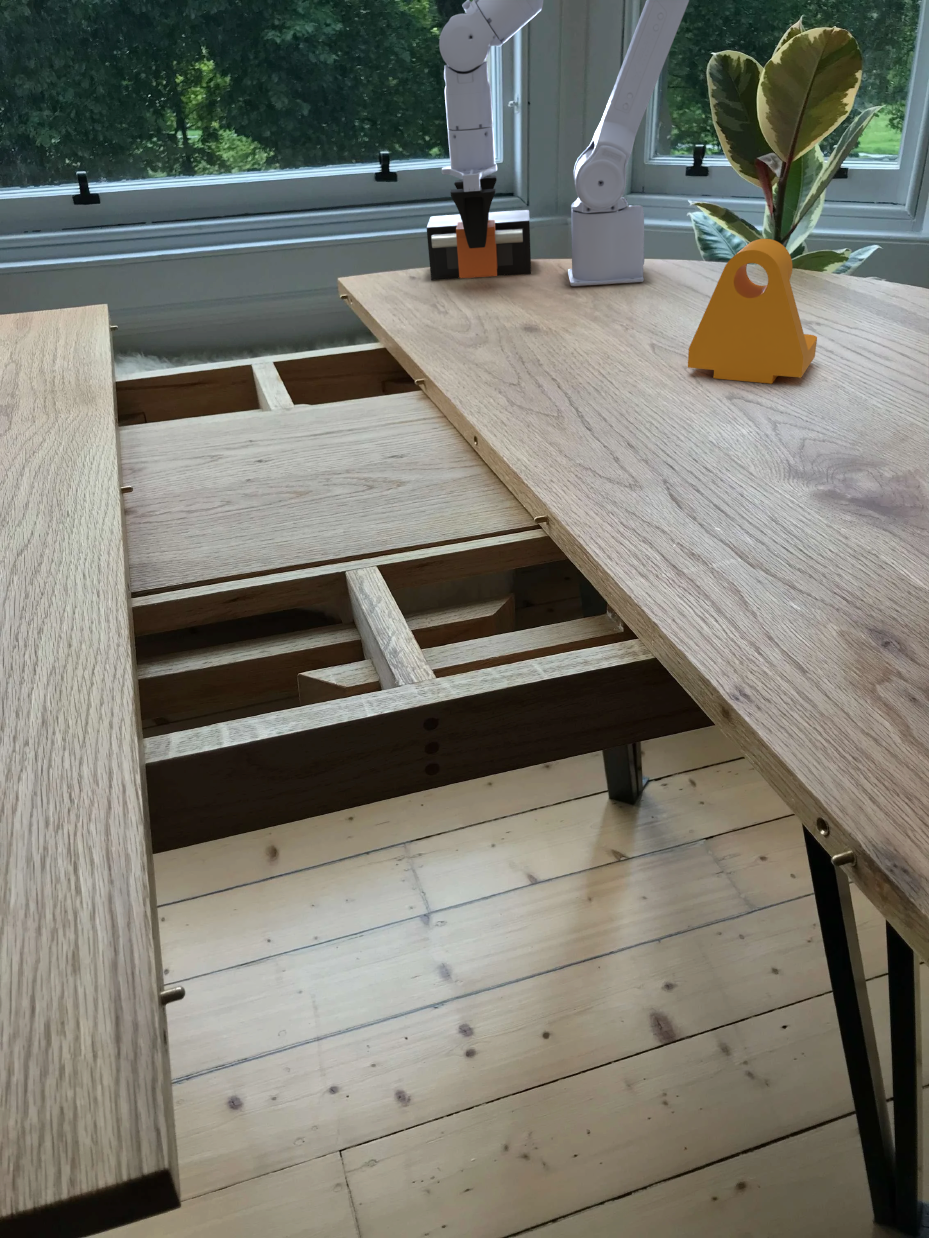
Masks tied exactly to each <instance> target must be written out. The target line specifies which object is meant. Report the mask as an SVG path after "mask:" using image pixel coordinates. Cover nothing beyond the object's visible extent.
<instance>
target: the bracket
mask: <svg viewBox="0 0 929 1238" xmlns="http://www.w3.org/2000/svg"><path fill="white" fill-rule="evenodd" d="M748 264H756V265H758V266H760V267H762V268H763V270H764V271H765V273H766V275H767V284H765V285H759V284H756V283H755V282H753V281H752V280H751V279H750V277H749V275H748V273H747V267H748ZM792 274H793V260H792V256H791V254H790V252H789V250H788V249H787V247H785V246H784V245H783V244H782V243H781V242H779V241H777V240H775V239H770V238H759V239H755V240H753V241H750V242H748V243H747V244H746V245H745V246H743V247H742V248H741V249H740V250H739V251H737V252H736V253H735V254H734V256H732V257H731V258H730V259H729V260H728V262H727V263H726V264H725V266H724V268H723V270H722V272H721V274H720V275H719V276H720V277H719V279H718V281H717V284H716V286H715V288H714V290H713V292H712V295H711V297H710V299H709V302H708V304H707V306H706V309H705V310H704V313H703V315H702V318H701V320H700V322H699V324H698V327H697V329H696V331H695V334H694V336H693V338H692V340H691V343H690V345H689V347H688V355H687V368H688V369H699V370H710V371H713V376H712V377H713V379H718V380H727V381H739V382H748V383H749V382H751V383H761V384H770V385H772V384H773V383H774V382H775V380H776V379H777V377H790V378H792V377H793V378H803V376H804V374H805V373H806V371H807V369H808V368H809V366H811V363H812V362H813V361H814V359H815V358H816V351H817V350H816V349H817V343H818V336H817V335H814V334H809V333H804V329H803V326H802V321H801V318H800V314H799V310H798V306H797V303H796V300H795V295H794V292H793V288H792V285H791V281H790V280H791V277H792Z"/></svg>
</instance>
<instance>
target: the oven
mask: <svg viewBox="0 0 929 1238" xmlns="http://www.w3.org/2000/svg"><path fill="white" fill-rule="evenodd" d="M489 220H495V244H496V249H497V276H496V277H503V276H506V277H507V276H519V275H532V257H531V256H532V255H531V226H530V225H531V224H530V210H529V209H522V210H521V209H520V210H506V211H504V210H503V211H492V212H490V211H489ZM458 222H462V219H461V216H460V214H449V215H447V214H445V215H433V216H430V217H429V220H428V223H427V226H426V239H427V249H428V250H427V251H428V260H429V270H430V272H429V273H430V280H431V281H440V280H441V281H443V280H455V279H457V280H458V279H459V280H460V279H461V278H459V264H458V251H457V237H456V227H457V223H458ZM489 277H490V278H491V277H492V276H487V277H486V278H489ZM473 278H475V279H476V277H472V278H471V279H473Z"/></svg>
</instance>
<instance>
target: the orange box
mask: <svg viewBox="0 0 929 1238" xmlns="http://www.w3.org/2000/svg"><path fill="white" fill-rule="evenodd" d="M456 237H457V251H458V264H459V278H460V279H473V278H472V277H475V278H488V277H487V276H491V277H498V276H497V249H496V244H495V220H488V227H487V239H486V245H485V247H483V248H469V246H468V243H467V240H466V236H465V231H464V227H463V223H462V222H458V223H457V227H456Z"/></svg>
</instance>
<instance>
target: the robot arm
mask: <svg viewBox="0 0 929 1238" xmlns="http://www.w3.org/2000/svg"><path fill="white" fill-rule="evenodd" d="M689 2H690V0H646V1H645V3H644V6H643V8H642V11H641V13H640V16H639V18H638V22H637V25H636V27H635V30H634V32H633V35H632V37H631V39H630V43H629V45H628V48H627V50H626V51H627V52H626V53H625V55H624V59H623V61H622V63H621V66H620V69H619V71H618V74H617V77H616V80H615V83H614V85H613V88H612V90H611V93H610V96H609V98H608V101H607V103H606V106H605V109H604V112H603V114H602V117H601V120H600V122H599V123H598V126H597V128H596V130H595V131H594V134H593V137H592V140H591V141H590V143H589V145H588V146H587V147H586V149H585V150H583V151H582V153H581V154H580V155H579V156H578V157H577V159H576V161H575V164H574V167H573V180H574V188H575V194H576V195H577V198H576V200H575V201H574V202H572V203H571V205H570V209H571V210H570V217H571V218H570V221H571V223H570V224H571V226H570V227H571V228H570V229H571V268H567V275H568V281H569V285H570V286H571V287H580V286H582V287H583V286H598V285H599V286H600V285H611V284H613V285H614V284H631V283H643V282H644V265H645V215H644V213H645V212H644V207H643V205H629V203H628V199H627V198H625V197H623V196H624V194H625V192H626V187H627V166H628V163H629V160H630V158H631V156H632V152H633V149H634V143H635V139H636V136H637V133H638V131H639V128H640V125H641V124H642V123H641V122H642V120H643V118H644V115H645V113H646V110H647V107H648V105H649V102H650V100H651V99H652V95H653V92H654V90H655V87H656V85H657V82H658V81H659V77H660V75H661V73H662V70H663V67H664V65H665V63H666V60H667V58H668V54H669V52H670V50H671V47H672V45H673V42H674V39H675V37H676V35H677V32H678V29H679V27H680V24H681V23H682V20H683V17H684V15H685V13H686V9H687V7H688V5H689ZM543 5H544V0H466V1H464V2H463V3H462V4H461V6H462V8H463V10H464V12H465V13H458V14H455V15H453V16H451V17H450V18H449V20H448V21H447V22H446V24H445V25H444V26H443V28H442V30H441V32H440V35H439V42H438V46H439V52H440V55H441V58H442V60H443V61H444V63H445V65H444V70H443V79H444V82H445V87H444V100H445V101H444V102H445V113H446V125H447V139H448V148H449V149H448V150H449V152H448V153H449V163H450V166H444V167H442V168H441V175H442V176H448V175H450V176H452V177H453V178H456V179H458V180H455V181H453V185H454V186H455V188H456V189H455V188H454V189H451V190H450V198H451V200H452V201H453V203H454V204H455V206H456V209H457V211H458V213H459V214H458V215H460V216H461V219H462V223H463V227H464V231H465V236H466V240H467V243H468V246H469V248H483V247H485V245H486V239H487V227H488V220H489V213H490V211H491V210H490V209H491V206H492V203H493V200H494V197H495V194H496V191H497V189H496V188H495V186H496V183H497V181H498V178H497V177H498V176H497V175H495V174H494V173H496V172H497V171H498V164H497V163H496V152H495V150H496V149H495V135H494V119H493V116H494V115H493V100H492V99H493V98H492V85H491V83H490V80H489V65H488V63H489V62H488V60H487V58H488V56H489V54H490V52H491V47H498V48H499V47H502V45H503V44H505V43H506V42H508V40H510V38H511V37H513V36H514V35H515V34H516V33H518V32H519V31H520V30H521V29H522V28H523V27H524V26H525V25H527V24H528V23H529V22H530V21H531V20H532V19H533V18H535V17H536V16H537V15H538V14H539V13H540V12H542V10H543ZM493 174H494V175H493Z"/></svg>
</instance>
